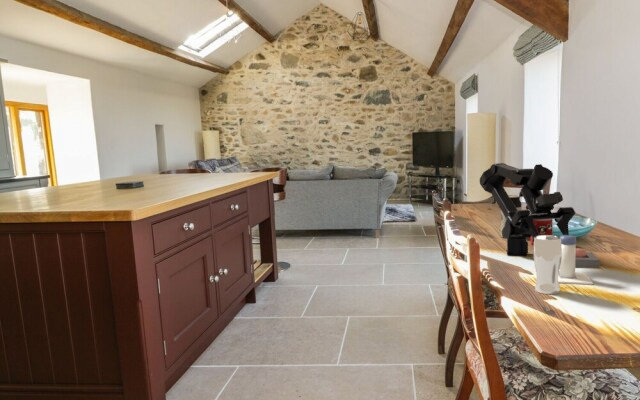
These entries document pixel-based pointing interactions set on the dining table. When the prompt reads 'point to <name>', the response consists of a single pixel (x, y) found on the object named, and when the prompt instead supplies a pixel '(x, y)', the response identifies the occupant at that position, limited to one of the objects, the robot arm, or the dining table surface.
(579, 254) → the button
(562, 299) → the dining table surface
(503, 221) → the travel mug
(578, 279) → the cream square base plate
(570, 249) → the blue capped bottle
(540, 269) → the beer glass
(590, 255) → the button housing
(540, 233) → the canned food
